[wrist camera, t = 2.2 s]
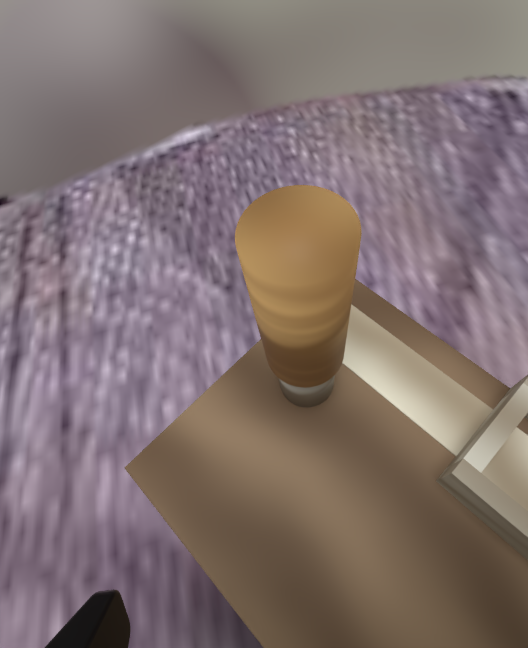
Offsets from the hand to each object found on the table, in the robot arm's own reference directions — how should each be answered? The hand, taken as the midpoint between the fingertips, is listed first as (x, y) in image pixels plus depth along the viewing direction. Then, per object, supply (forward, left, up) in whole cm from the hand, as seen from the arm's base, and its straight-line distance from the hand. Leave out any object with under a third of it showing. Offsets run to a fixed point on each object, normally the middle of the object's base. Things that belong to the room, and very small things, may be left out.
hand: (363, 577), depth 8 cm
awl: (+5, +6, -12) cm, 14 cm away
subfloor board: (+4, -2, -14) cm, 14 cm away
